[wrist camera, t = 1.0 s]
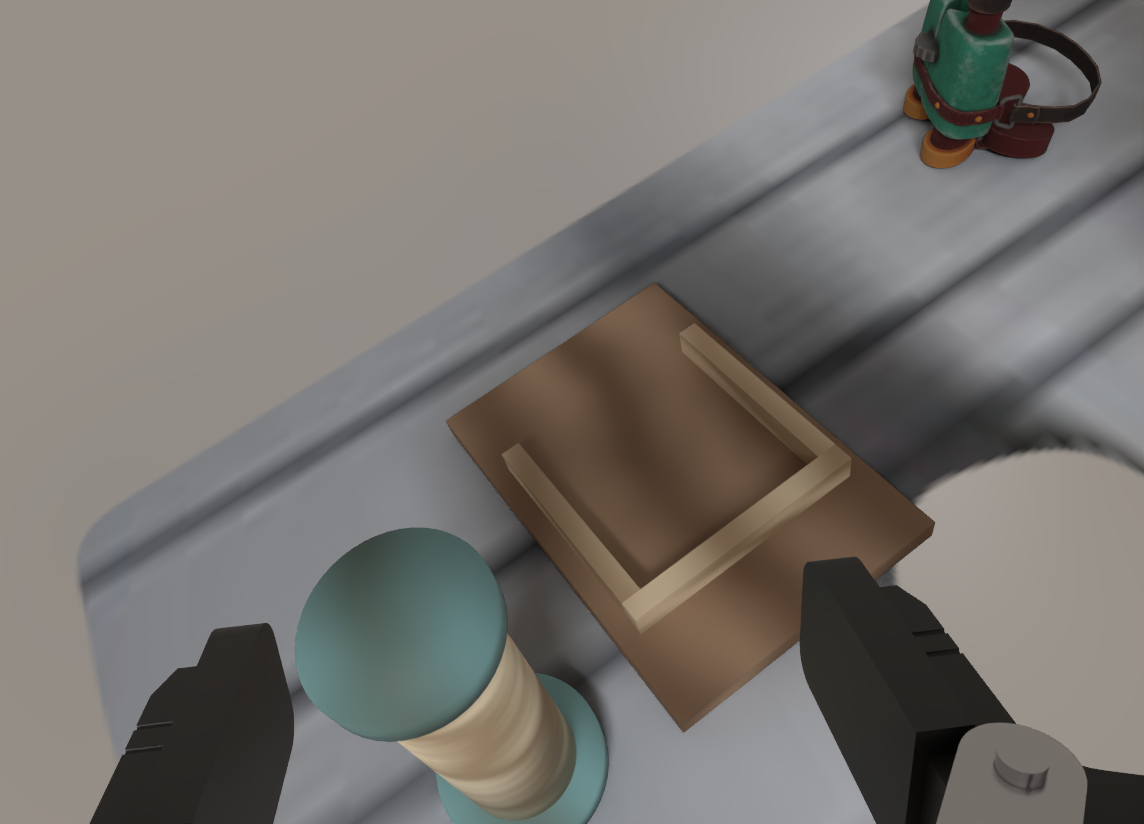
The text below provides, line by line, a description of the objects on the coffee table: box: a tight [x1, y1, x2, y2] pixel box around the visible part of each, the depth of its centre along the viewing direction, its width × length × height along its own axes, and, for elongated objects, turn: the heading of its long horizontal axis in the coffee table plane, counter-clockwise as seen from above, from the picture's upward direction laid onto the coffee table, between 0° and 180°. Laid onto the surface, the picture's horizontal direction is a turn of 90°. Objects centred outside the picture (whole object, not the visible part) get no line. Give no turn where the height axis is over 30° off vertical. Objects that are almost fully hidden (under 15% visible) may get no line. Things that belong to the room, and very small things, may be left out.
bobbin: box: [295, 528, 609, 824], centre depth 31 cm, size 7×7×15 cm
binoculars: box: [904, 0, 1102, 168], centre depth 50 cm, size 9×11×10 cm
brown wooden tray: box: [446, 283, 935, 733], centre depth 43 cm, size 14×20×3 cm
